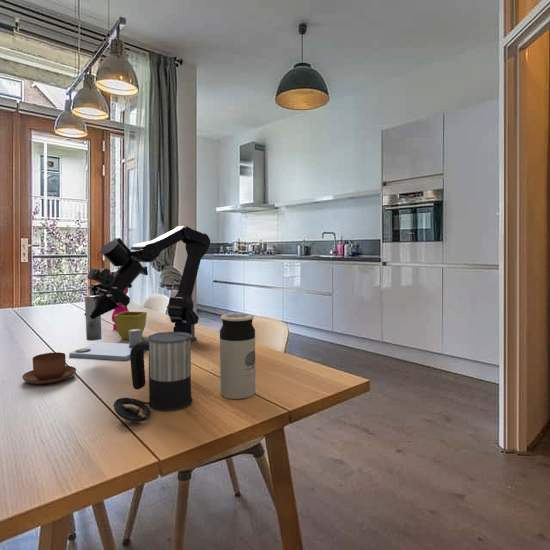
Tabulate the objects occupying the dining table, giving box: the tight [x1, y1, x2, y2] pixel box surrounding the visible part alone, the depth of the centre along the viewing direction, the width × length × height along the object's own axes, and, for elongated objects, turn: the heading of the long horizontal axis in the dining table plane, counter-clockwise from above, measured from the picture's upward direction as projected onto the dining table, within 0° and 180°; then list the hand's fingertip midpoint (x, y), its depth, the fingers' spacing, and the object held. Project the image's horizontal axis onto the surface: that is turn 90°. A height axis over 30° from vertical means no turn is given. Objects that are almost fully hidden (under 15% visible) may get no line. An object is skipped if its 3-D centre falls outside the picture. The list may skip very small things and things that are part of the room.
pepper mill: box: [111, 288, 130, 331], centre depth 166 cm, size 7×7×20 cm
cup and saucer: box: [21, 351, 77, 385], centre depth 104 cm, size 12×12×6 cm
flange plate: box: [68, 329, 147, 361], centre depth 129 cm, size 19×14×6 cm
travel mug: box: [219, 312, 257, 400], centre depth 93 cm, size 8×8×18 cm
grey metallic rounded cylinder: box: [84, 295, 102, 342], centre depth 119 cm, size 4×4×12 cm
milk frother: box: [113, 331, 194, 423], centre depth 84 cm, size 14×16×15 cm
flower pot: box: [114, 311, 148, 340], centre depth 150 cm, size 9×9×9 cm
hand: (88, 317), depth 118 cm, fingers closed on grey metallic rounded cylinder, 4 cm apart
